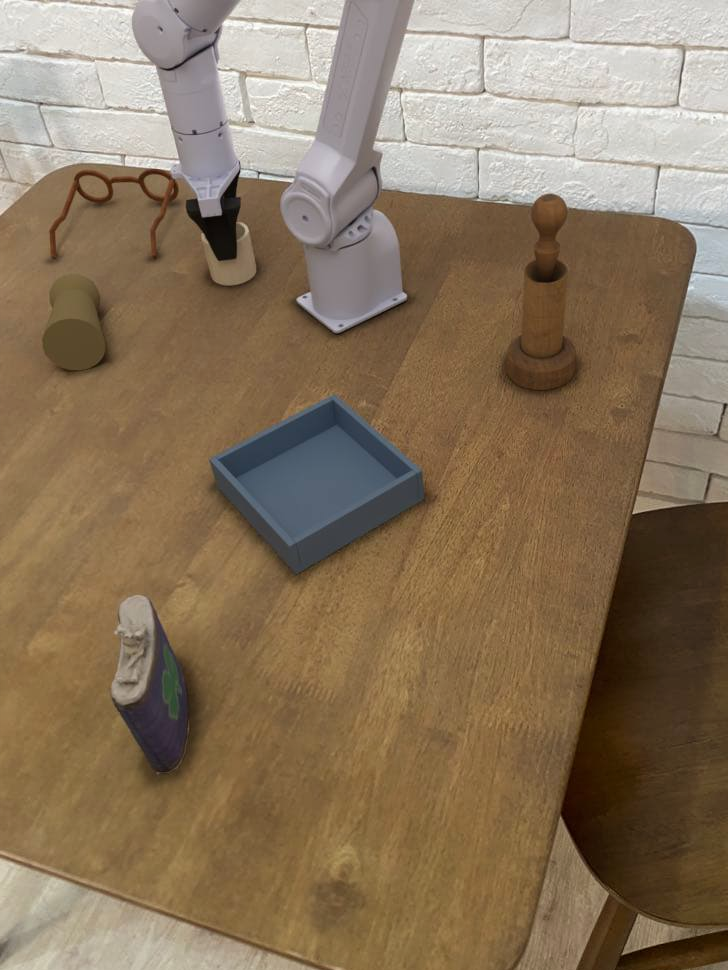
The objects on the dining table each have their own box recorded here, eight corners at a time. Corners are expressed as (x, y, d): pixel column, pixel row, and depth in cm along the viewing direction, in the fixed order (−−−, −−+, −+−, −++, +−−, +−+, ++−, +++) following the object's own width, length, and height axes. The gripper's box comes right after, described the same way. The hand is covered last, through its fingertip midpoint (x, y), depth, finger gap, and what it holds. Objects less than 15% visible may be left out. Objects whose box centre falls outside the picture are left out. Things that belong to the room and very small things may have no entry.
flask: (151, 667, 71) (109, 578, 63) (190, 661, 71) (153, 571, 63) (146, 778, 65) (99, 694, 57) (189, 771, 65) (147, 687, 57)
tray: (339, 422, 88) (334, 393, 86) (424, 499, 81) (422, 469, 78) (217, 487, 84) (208, 458, 81) (296, 574, 76) (289, 546, 74)
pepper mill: (74, 307, 91) (75, 254, 99) (28, 341, 93) (33, 286, 100) (118, 348, 96) (116, 294, 103) (74, 380, 97) (75, 325, 105)
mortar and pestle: (529, 399, 89) (537, 225, 75) (493, 363, 93) (495, 192, 79) (587, 375, 90) (605, 202, 77) (550, 341, 94) (561, 170, 81)
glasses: (183, 202, 118) (173, 164, 115) (156, 259, 110) (144, 220, 106) (84, 204, 120) (71, 166, 116) (49, 260, 111) (34, 221, 107)
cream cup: (242, 255, 109) (233, 215, 105) (265, 273, 106) (257, 233, 102) (203, 272, 107) (192, 232, 103) (225, 291, 104) (215, 251, 101)
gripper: (163, 96, 99) (193, 215, 109) (155, 160, 89) (189, 284, 99) (230, 88, 99) (254, 207, 109) (229, 151, 89) (255, 276, 99)
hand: (227, 244), depth 104 cm, fingers closed on cream cup, 5 cm apart
